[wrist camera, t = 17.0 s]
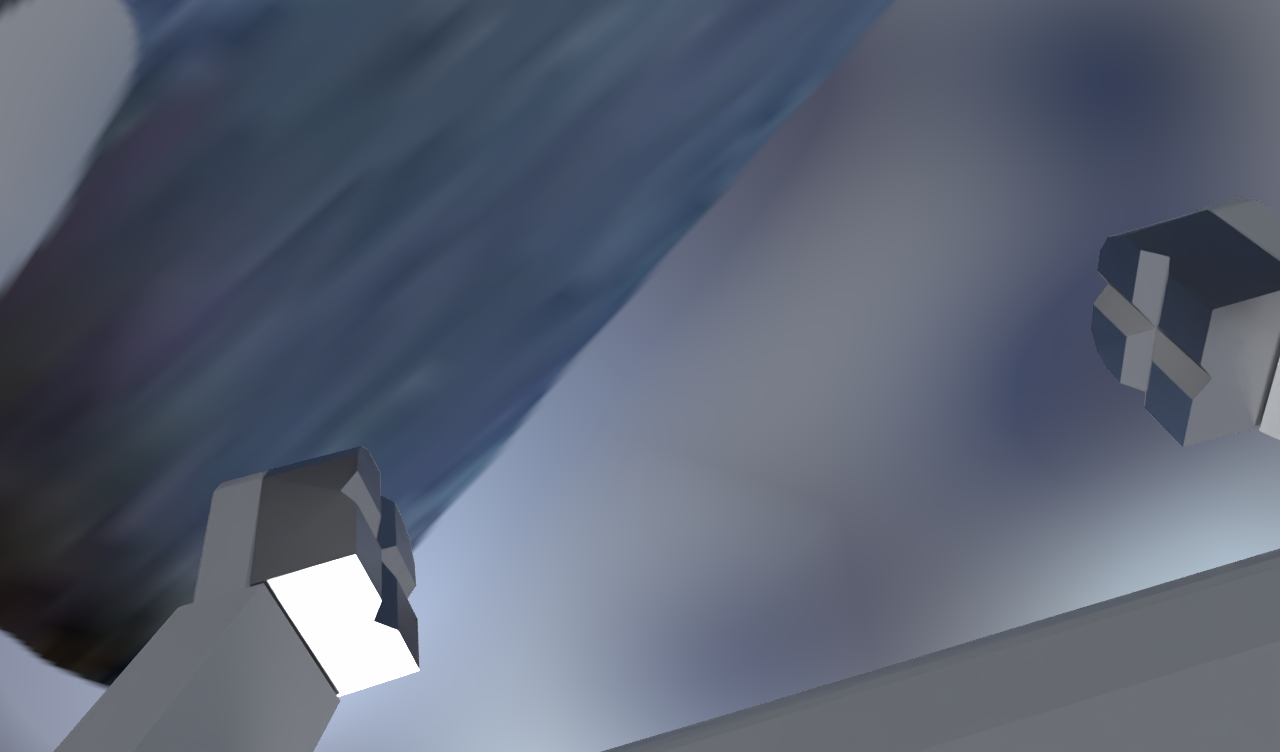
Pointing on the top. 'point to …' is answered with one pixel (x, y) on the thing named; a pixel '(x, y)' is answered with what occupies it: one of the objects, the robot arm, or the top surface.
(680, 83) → the top surface
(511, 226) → the top surface
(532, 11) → the top surface
